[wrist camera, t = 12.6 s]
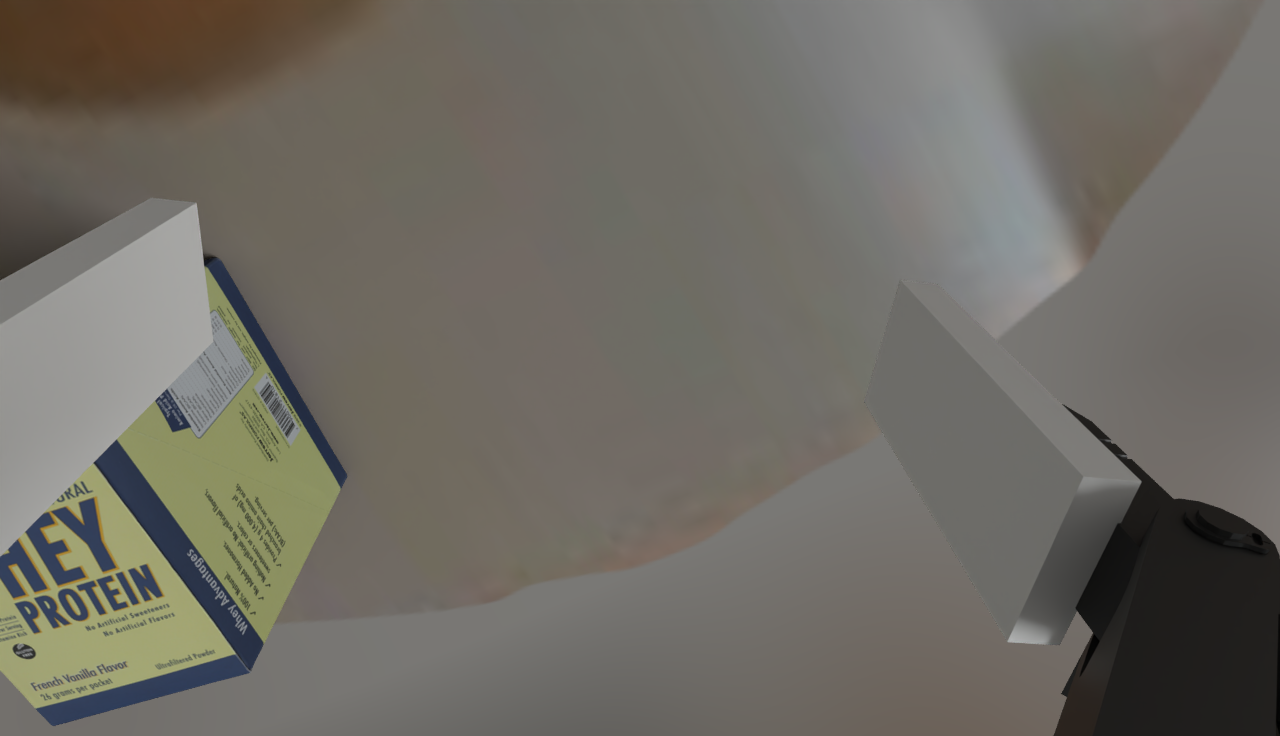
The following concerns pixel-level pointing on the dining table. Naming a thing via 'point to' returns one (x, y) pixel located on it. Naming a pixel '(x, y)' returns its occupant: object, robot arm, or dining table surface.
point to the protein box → (172, 535)
